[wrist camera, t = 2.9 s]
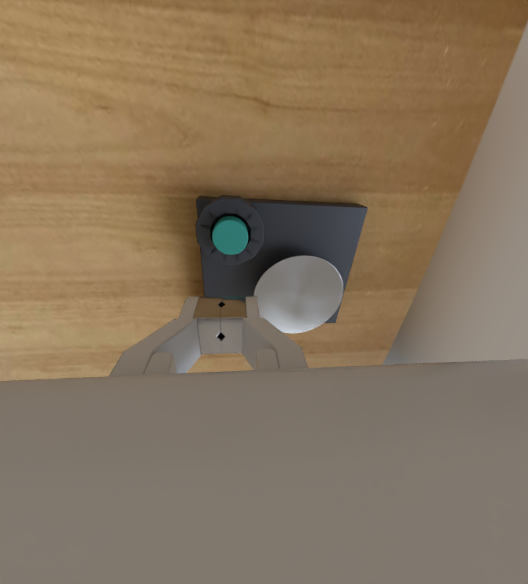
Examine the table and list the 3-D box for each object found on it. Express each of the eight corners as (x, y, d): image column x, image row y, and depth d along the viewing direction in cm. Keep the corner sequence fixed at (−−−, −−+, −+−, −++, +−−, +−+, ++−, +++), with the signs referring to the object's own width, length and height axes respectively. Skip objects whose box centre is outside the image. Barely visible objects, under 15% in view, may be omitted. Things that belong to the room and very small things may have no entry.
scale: (360, 199, 23) (378, 205, 20) (330, 314, 30) (340, 331, 27) (198, 191, 21) (192, 196, 18) (208, 315, 28) (205, 334, 25)
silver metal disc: (352, 254, 22) (353, 256, 22) (331, 330, 27) (332, 332, 27) (254, 252, 21) (255, 254, 21) (251, 331, 26) (251, 334, 25)
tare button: (247, 216, 20) (248, 220, 18) (247, 249, 21) (247, 255, 20) (212, 215, 19) (211, 219, 18) (214, 248, 21) (213, 254, 19)
